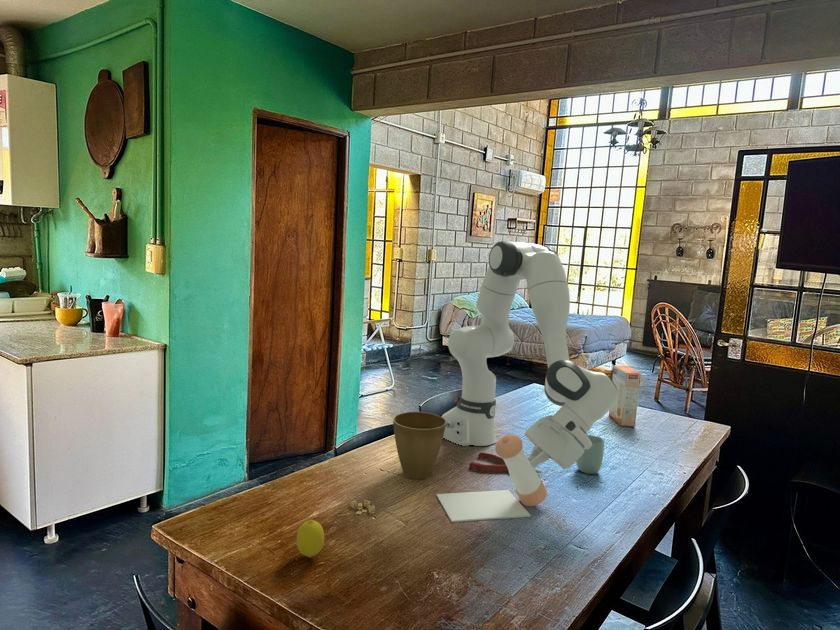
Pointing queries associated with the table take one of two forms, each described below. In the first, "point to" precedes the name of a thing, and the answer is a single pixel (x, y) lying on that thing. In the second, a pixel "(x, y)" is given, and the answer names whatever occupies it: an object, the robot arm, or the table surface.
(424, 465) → the plant pot
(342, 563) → the table surface
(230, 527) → the table surface
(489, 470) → the pliers
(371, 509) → the dice set
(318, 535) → the lemon
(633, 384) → the cracker box
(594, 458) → the cup
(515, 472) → the pepper shaker
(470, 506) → the mat
